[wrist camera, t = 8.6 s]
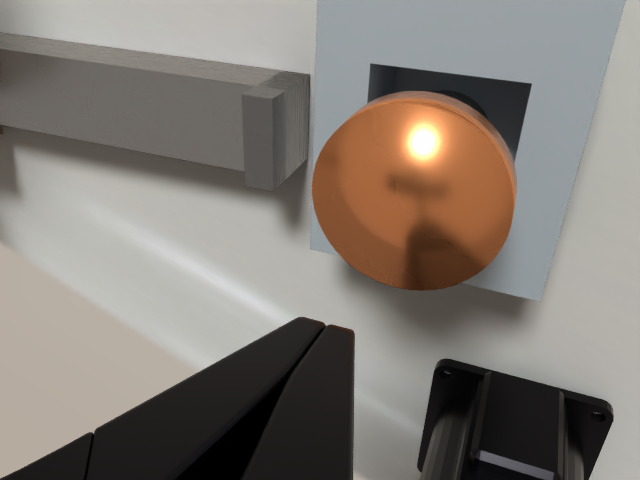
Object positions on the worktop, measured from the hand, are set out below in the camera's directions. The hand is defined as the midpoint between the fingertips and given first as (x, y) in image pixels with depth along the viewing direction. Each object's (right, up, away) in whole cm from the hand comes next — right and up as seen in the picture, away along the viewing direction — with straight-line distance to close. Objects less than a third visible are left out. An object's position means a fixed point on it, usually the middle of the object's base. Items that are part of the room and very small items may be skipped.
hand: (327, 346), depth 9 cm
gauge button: (+3, +4, +8) cm, 9 cm away
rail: (-11, +8, +15) cm, 20 cm away
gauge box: (+4, +6, +10) cm, 12 cm away
